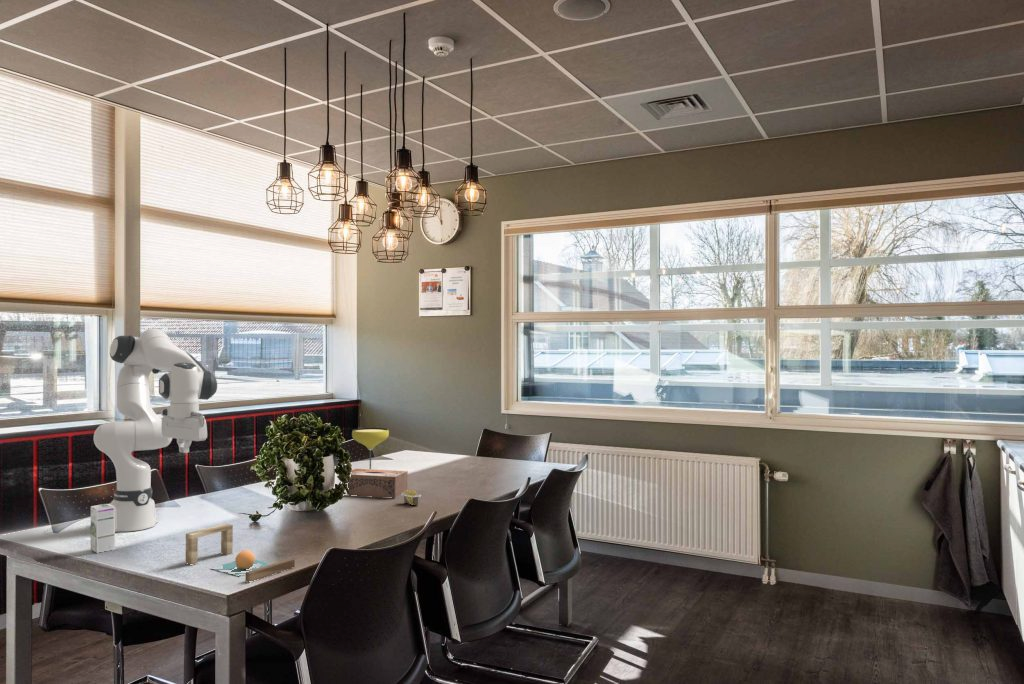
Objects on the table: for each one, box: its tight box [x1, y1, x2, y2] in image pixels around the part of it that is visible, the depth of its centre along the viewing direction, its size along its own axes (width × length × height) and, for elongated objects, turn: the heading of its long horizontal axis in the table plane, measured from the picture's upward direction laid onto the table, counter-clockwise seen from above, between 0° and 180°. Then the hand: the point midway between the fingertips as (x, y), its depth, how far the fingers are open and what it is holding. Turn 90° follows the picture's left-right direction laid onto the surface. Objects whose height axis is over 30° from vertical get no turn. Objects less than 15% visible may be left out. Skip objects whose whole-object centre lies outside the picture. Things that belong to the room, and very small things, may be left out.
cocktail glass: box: [351, 427, 390, 469], centre depth 353 cm, size 18×18×25 cm
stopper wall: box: [245, 557, 295, 582], centre depth 207 cm, size 2×16×2 cm, turn 149°
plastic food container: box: [401, 489, 422, 506], centre depth 298 cm, size 12×18×7 cm, turn 54°
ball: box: [234, 550, 256, 570], centre depth 211 cm, size 6×6×6 cm
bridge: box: [185, 523, 234, 565], centre depth 222 cm, size 3×14×9 cm, turn 149°
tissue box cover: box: [348, 468, 409, 499], centre depth 320 cm, size 26×14×10 cm, turn 77°
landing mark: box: [213, 559, 272, 577], centre depth 213 cm, size 13×13×1 cm
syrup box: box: [90, 503, 116, 554], centre depth 230 cm, size 6×6×14 cm
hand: (184, 452), depth 237 cm, fingers closed
